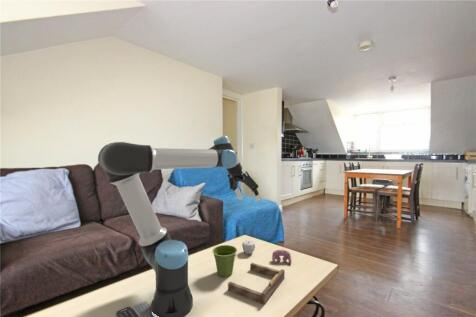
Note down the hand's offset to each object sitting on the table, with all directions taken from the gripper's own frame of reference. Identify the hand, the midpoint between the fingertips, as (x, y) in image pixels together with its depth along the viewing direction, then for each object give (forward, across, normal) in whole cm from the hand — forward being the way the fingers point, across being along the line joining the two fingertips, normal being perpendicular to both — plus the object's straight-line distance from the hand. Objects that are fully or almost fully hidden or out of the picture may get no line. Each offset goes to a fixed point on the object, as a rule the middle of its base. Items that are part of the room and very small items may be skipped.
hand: (249, 199), depth 122 cm
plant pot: (+21, +2, +31) cm, 37 cm away
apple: (+31, +10, +10) cm, 34 cm away
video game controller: (+36, -8, +5) cm, 37 cm away
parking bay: (+25, -14, +27) cm, 39 cm away
